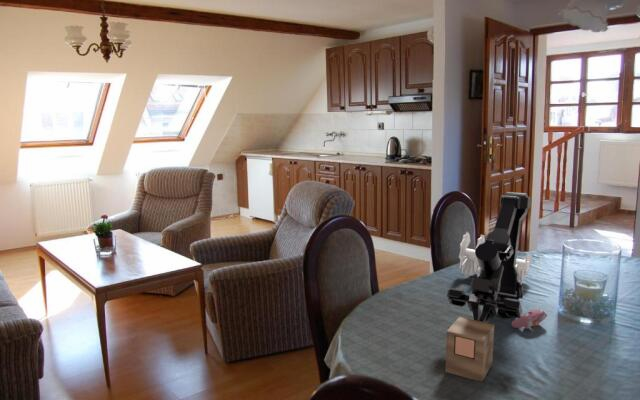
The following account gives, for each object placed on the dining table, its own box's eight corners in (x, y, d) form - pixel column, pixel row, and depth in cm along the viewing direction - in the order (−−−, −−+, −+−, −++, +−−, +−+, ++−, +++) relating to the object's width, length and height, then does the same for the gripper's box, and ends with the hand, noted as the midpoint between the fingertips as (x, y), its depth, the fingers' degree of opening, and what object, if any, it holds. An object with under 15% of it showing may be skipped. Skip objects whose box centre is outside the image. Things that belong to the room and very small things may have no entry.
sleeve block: (457, 355, 132) (459, 316, 130) (492, 364, 127) (494, 324, 125) (445, 371, 124) (446, 331, 122) (481, 381, 119) (483, 339, 117)
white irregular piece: (521, 300, 180) (455, 284, 194) (534, 269, 191) (471, 255, 205) (520, 263, 170) (450, 248, 185) (534, 232, 181) (467, 220, 196)
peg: (467, 337, 130) (468, 321, 129) (484, 341, 128) (485, 325, 127) (455, 353, 122) (455, 336, 121) (473, 358, 119) (474, 340, 119)
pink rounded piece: (520, 336, 146) (530, 320, 142) (509, 324, 149) (518, 308, 146) (542, 329, 151) (552, 313, 147) (531, 318, 154) (541, 302, 150)
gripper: (450, 259, 135) (435, 311, 128) (522, 270, 126) (510, 327, 118) (458, 279, 143) (444, 328, 136) (526, 290, 133) (515, 345, 126)
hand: (476, 331), depth 129 cm, fingers closed, pressing on peg
